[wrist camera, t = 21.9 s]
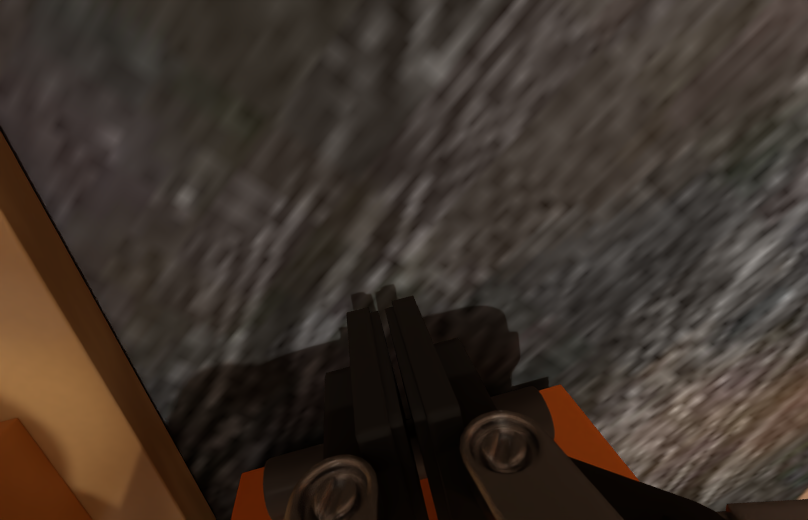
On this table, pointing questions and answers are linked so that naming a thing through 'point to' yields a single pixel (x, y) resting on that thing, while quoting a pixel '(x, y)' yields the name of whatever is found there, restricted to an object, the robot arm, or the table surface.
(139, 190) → the table surface
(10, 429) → the bread
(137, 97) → the table surface
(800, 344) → the table surface
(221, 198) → the table surface
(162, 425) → the bread board
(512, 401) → the drawer
